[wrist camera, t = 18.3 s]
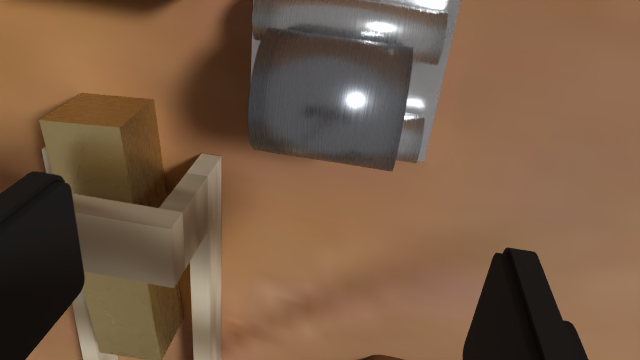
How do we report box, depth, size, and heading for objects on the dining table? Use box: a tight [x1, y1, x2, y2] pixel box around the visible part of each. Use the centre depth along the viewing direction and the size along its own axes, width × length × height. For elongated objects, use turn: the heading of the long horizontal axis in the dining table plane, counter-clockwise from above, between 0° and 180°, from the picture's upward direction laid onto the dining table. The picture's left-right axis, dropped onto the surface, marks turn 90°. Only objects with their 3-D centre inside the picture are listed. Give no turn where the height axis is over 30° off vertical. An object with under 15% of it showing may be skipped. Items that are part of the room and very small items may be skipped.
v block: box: [251, 0, 461, 163], centre depth 21 cm, size 8×7×3 cm
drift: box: [39, 93, 184, 360], centre depth 26 cm, size 14×4×4 cm, turn 178°
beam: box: [42, 146, 221, 360], centre depth 26 cm, size 30×8×6 cm, turn 174°
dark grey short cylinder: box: [248, 27, 413, 171], centre depth 18 cm, size 5×4×4 cm
